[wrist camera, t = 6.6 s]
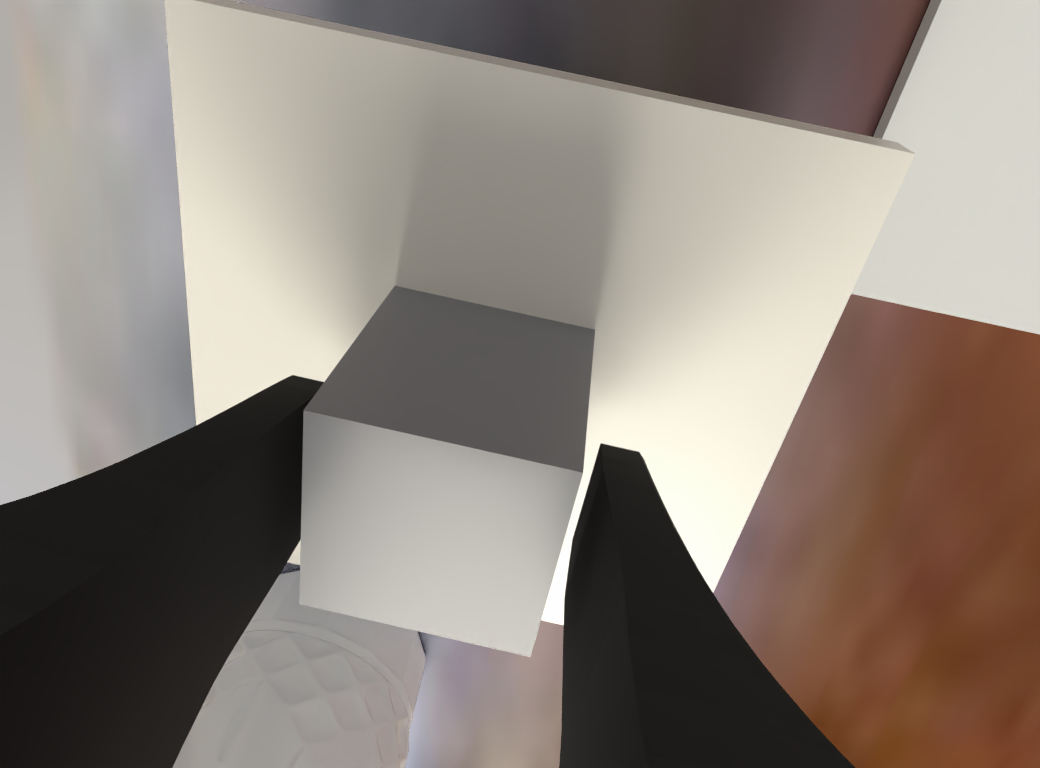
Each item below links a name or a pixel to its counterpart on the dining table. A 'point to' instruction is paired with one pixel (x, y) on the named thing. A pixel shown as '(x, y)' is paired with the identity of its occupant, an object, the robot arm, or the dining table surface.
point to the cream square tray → (966, 168)
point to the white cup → (309, 691)
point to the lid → (499, 298)
